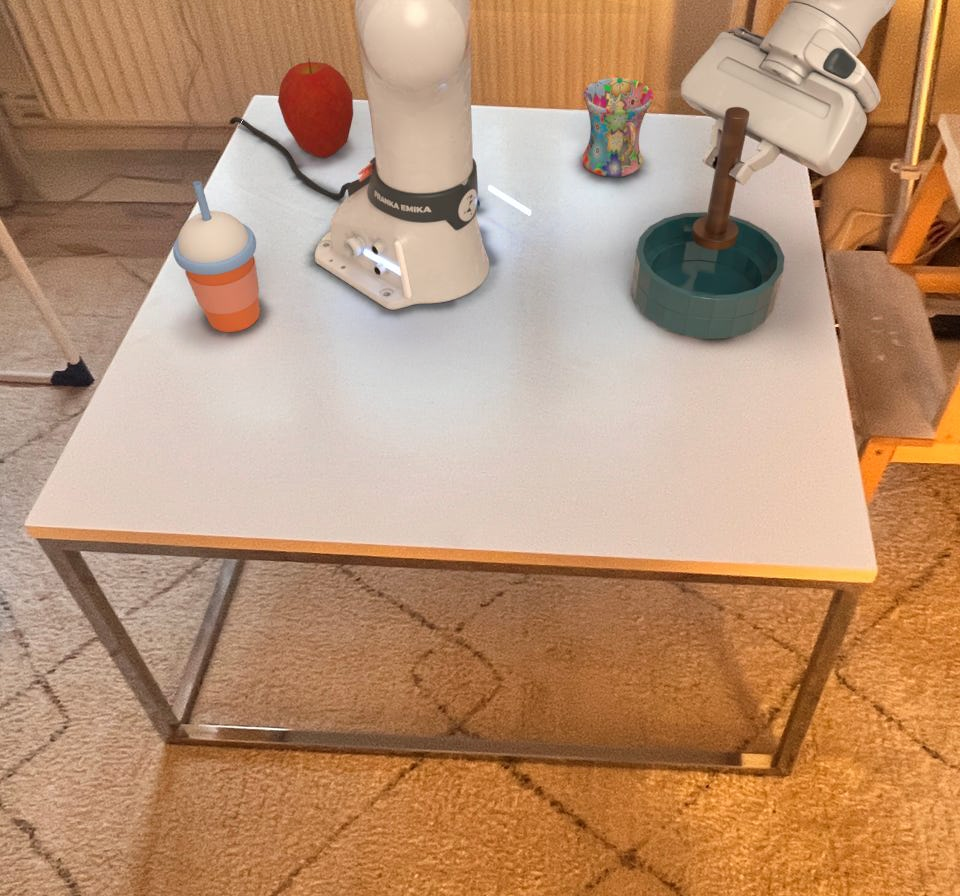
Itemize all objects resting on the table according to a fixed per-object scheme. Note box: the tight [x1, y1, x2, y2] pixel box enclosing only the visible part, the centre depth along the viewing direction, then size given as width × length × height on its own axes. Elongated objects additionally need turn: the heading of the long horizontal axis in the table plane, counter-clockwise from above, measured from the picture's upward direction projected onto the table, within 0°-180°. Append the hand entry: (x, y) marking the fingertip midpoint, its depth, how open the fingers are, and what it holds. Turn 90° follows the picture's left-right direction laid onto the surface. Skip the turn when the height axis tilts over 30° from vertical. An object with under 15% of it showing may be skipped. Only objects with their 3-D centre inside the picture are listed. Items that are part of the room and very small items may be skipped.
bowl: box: [631, 211, 786, 340], centre depth 109 cm, size 17×17×6 cm
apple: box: [277, 58, 354, 159], centre depth 131 cm, size 10×10×14 cm
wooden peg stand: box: [692, 107, 750, 250], centre depth 99 cm, size 5×5×15 cm
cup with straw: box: [172, 180, 261, 333], centre depth 104 cm, size 9×9×18 cm
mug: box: [581, 77, 654, 178], centre depth 127 cm, size 12×9×11 cm
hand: (722, 173), depth 98 cm, fingers closed on wooden peg stand, 2 cm apart
